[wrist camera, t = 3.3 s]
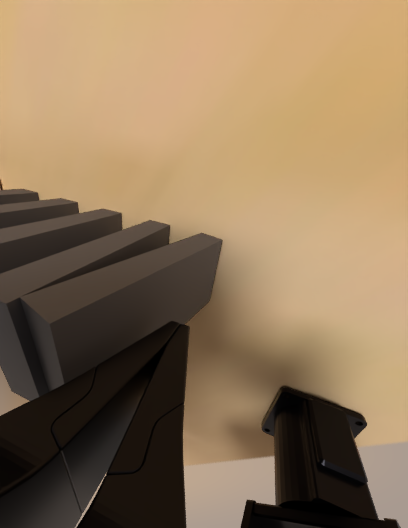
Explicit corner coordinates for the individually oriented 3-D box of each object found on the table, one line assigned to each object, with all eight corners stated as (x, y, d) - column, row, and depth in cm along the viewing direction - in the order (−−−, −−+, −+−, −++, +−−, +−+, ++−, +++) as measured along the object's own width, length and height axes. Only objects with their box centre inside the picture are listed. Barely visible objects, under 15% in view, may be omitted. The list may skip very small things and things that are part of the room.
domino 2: (165, 284, 16) (43, 407, 8) (147, 278, 17) (12, 391, 8) (170, 225, 14) (6, 303, 5) (150, 220, 14) (-36, 286, 6)
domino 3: (123, 270, 17) (-30, 370, 8) (107, 266, 17) (-57, 357, 9) (121, 213, 15) (-89, 265, 6) (103, 208, 15) (-121, 252, 6)
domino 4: (84, 259, 18) (-93, 338, 9) (69, 254, 18) (-116, 327, 9) (77, 202, 16) (-165, 235, 7) (61, 198, 16) (-191, 225, 7)
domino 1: (209, 300, 15) (75, 426, 7) (192, 292, 16) (51, 399, 8) (222, 239, 13) (49, 323, 5) (201, 232, 14) (19, 297, 6)
